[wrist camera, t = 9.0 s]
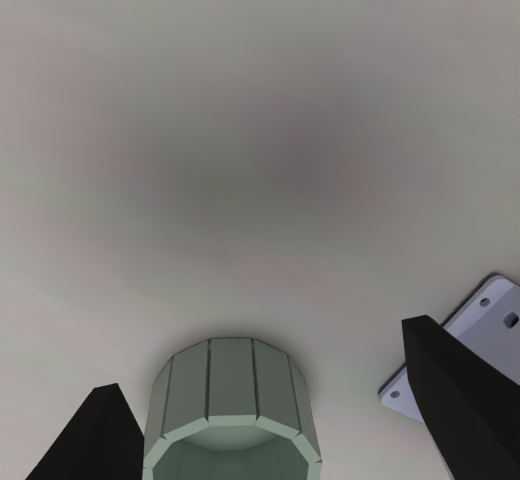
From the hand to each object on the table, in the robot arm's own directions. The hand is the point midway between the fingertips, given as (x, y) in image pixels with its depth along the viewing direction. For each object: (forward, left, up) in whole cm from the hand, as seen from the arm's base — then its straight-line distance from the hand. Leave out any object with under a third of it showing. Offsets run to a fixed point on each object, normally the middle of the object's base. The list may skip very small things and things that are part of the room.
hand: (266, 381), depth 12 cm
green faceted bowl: (+10, +5, -10) cm, 15 cm away
